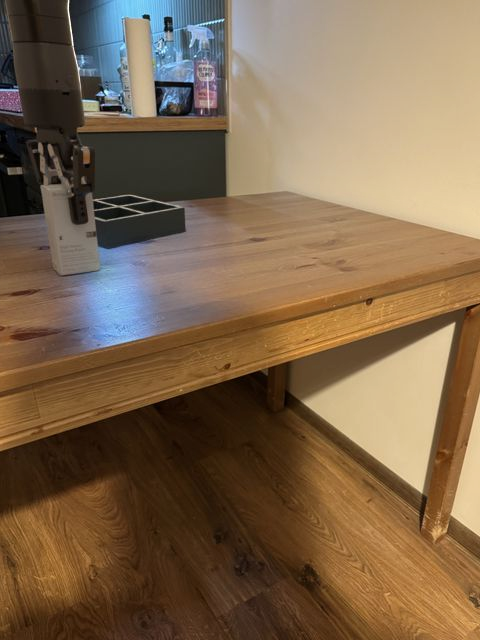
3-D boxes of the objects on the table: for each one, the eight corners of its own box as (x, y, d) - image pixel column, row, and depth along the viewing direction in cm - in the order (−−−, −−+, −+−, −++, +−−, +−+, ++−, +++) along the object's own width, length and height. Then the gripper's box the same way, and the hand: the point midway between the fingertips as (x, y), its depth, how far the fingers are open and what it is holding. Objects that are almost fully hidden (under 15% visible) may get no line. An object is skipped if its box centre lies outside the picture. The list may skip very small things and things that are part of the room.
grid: (55, 230, 95) (51, 205, 93) (132, 216, 106) (130, 194, 104) (107, 248, 85) (104, 221, 83) (185, 231, 96) (184, 207, 94)
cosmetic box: (60, 277, 71) (46, 189, 66) (52, 268, 75) (37, 184, 69) (102, 270, 75) (92, 186, 69) (93, 262, 78) (82, 181, 72)
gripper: (-5, 84, 65) (21, 216, 73) (50, 86, 57) (72, 234, 65) (49, 86, 70) (68, 209, 78) (107, 87, 62) (121, 225, 70)
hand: (70, 219), depth 71 cm, fingers closed on cosmetic box, 5 cm apart
